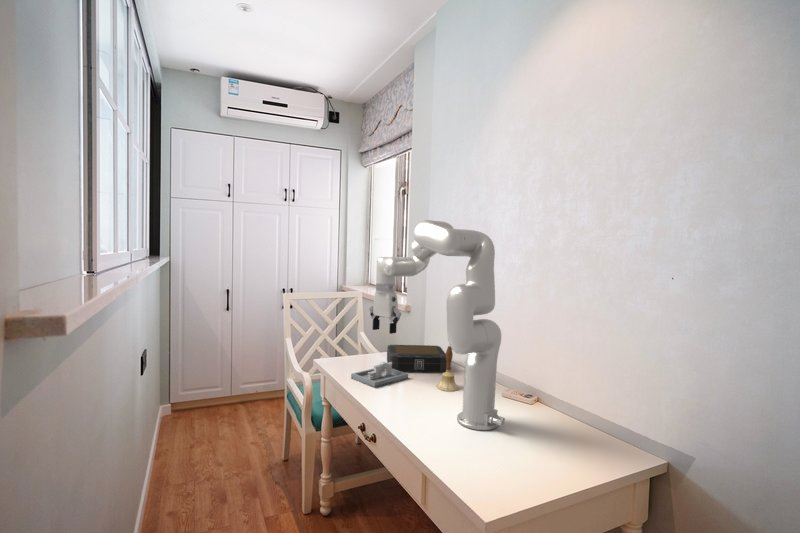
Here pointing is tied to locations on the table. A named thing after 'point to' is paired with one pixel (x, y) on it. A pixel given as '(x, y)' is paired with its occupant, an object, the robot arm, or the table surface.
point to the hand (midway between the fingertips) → (384, 331)
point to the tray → (380, 381)
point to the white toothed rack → (380, 370)
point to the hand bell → (448, 375)
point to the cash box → (417, 358)
